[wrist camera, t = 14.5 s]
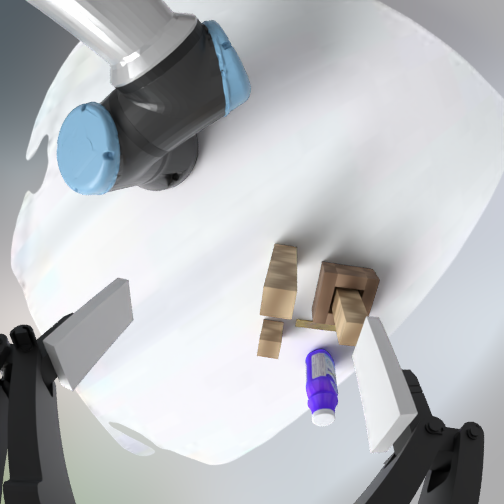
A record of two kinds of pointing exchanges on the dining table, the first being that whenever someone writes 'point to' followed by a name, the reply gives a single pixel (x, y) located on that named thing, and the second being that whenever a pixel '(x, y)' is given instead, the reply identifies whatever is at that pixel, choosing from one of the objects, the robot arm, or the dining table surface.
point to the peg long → (280, 283)
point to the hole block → (346, 278)
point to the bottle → (321, 387)
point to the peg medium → (348, 315)
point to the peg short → (270, 339)
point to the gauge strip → (314, 325)
